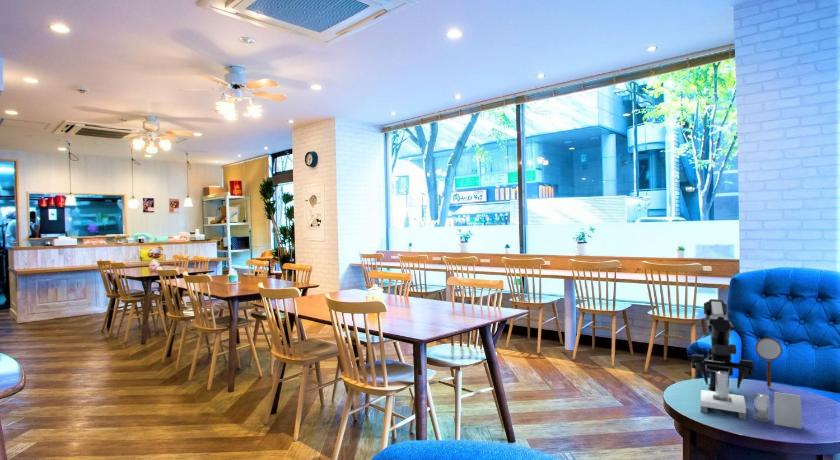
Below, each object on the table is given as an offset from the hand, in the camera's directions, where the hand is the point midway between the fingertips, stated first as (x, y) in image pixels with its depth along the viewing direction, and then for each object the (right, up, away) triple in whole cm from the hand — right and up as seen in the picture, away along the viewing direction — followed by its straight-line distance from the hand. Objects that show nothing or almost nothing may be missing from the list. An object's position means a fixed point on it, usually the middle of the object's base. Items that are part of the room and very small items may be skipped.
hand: (722, 386), depth 165 cm
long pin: (+1, -9, +1) cm, 9 cm away
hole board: (+1, -9, +1) cm, 9 cm away
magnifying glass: (+32, -8, +22) cm, 40 cm away
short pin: (+8, -8, -8) cm, 14 cm away
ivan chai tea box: (+13, -9, -12) cm, 20 cm away
